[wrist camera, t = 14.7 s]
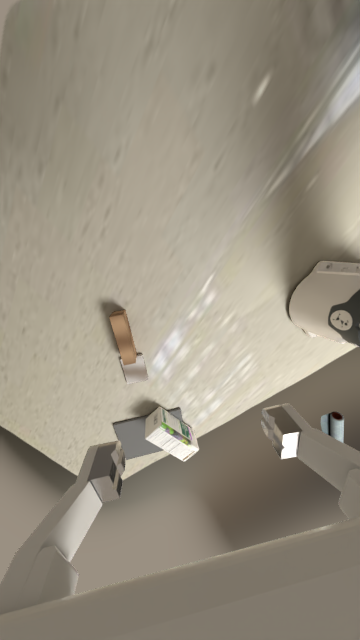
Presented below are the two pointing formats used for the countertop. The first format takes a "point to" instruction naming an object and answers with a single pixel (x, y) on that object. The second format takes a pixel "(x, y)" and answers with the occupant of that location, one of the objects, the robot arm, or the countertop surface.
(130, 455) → the mat
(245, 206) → the countertop surface
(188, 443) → the syrup box
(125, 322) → the tan wooden bar
